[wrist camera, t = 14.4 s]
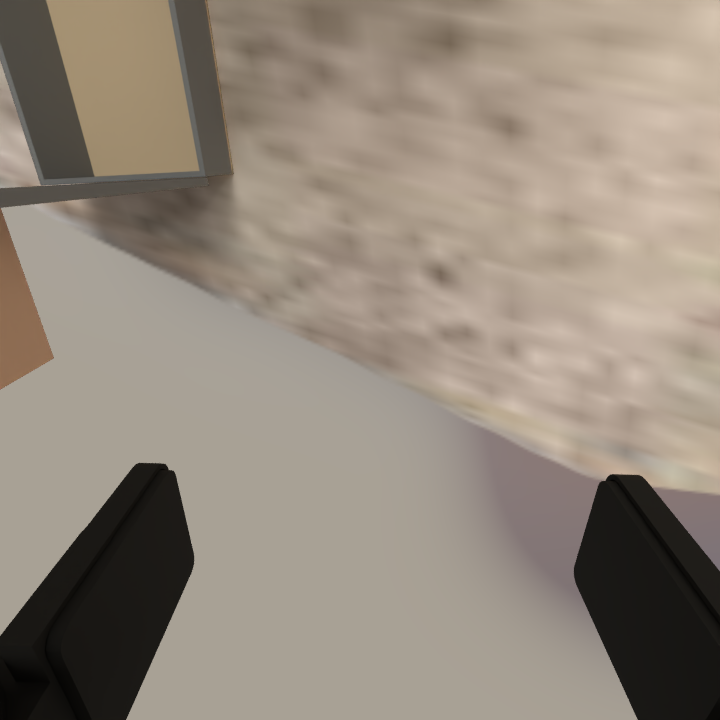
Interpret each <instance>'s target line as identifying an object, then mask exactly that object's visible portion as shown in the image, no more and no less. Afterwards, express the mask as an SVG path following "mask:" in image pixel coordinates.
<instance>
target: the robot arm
mask: <svg viewBox="0 0 720 720" xmlns="http://www.w3.org/2000/svg"><path fill="white" fill-rule="evenodd" d="M193 565H194V553H193V548H192V544H191V540H190V535H189V531H188V527H187V522H186V518H185V513H184V510H183V505H182V500H181V496H180V492H179V488H178V483H177V479H176V475H175V472H174V471H172V470H168V467H167V466H166V464H159V463H138V464H136V465H135V466H134V467H133V468H132V469H131V470H130V472H129V473H128V474H127V476H126V477H125V478H124V480H123V481H122V482H121V483H120V485H119V486H118V487H117V488H116V490H115V491H114V493H113V494H112V495H111V496H110V497H109V499H108V500H107V501H106V503H105V504H104V505H103V506H102V508H101V509H100V510H99V512H98V513H97V514H96V516H95V517H94V518H93V519H92V521H91V522H90V523H89V525H88V526H87V527H86V528H85V529H84V530H83V531H82V532H81V533H80V534H79V536H78V537H77V538H76V540H75V541H74V542H73V544H72V545H71V546H70V547H69V549H68V550H67V551H66V553H65V554H64V555H63V556H62V557H61V559H60V560H59V562H58V563H57V564H56V565H55V566H54V568H53V569H52V570H51V572H50V573H49V574H48V576H47V577H46V578H45V579H44V581H43V582H42V583H41V584H40V586H39V587H38V588H37V590H36V591H35V592H34V593H33V595H32V596H31V597H30V599H29V600H28V601H27V602H26V604H25V605H24V606H23V607H22V609H21V610H20V611H19V613H18V614H17V615H16V617H15V618H14V619H13V620H12V622H11V623H10V624H9V625H8V627H7V628H6V629H5V631H4V632H3V633H2V634H1V636H0V720H126V719H127V716H128V714H129V712H130V710H131V707H132V705H133V703H134V701H135V698H136V696H137V694H138V691H139V689H140V687H141V685H142V683H143V680H144V678H145V676H146V674H147V671H148V669H149V667H150V665H151V662H152V660H153V658H154V656H155V653H156V651H157V649H158V647H159V644H160V642H161V640H162V638H163V635H164V633H165V631H166V629H167V626H168V624H169V622H170V620H171V617H172V615H173V613H174V611H175V608H176V606H177V604H178V602H179V599H180V597H181V595H182V593H183V590H184V588H185V586H186V583H187V581H188V579H189V577H190V575H191V572H192V569H193ZM574 578H575V582H576V585H577V587H578V589H579V592H580V594H581V596H582V598H583V600H584V602H585V605H586V607H587V609H588V611H589V614H590V616H591V618H592V620H593V622H594V624H595V627H596V629H597V631H598V633H599V635H600V638H601V640H602V642H603V644H604V646H605V649H606V651H607V653H608V655H609V657H610V660H611V662H612V664H613V666H614V668H615V671H616V673H617V675H618V677H619V679H620V682H621V684H622V686H623V688H624V690H625V692H626V695H627V697H628V699H629V701H630V704H631V706H632V708H633V710H634V712H635V715H636V717H637V719H638V720H720V571H719V570H718V569H717V567H716V566H715V565H714V564H713V562H712V561H711V560H710V559H709V557H708V556H707V555H706V554H705V553H704V551H703V550H702V549H701V548H700V546H699V545H698V544H697V543H696V541H695V540H694V539H693V538H692V536H691V535H690V534H689V533H688V532H687V530H686V529H685V528H684V527H683V525H682V524H681V523H680V522H679V521H678V519H677V518H676V517H675V516H674V514H673V513H672V512H671V511H670V509H669V508H668V507H667V506H666V504H665V503H664V502H663V501H662V500H661V498H660V497H659V496H658V495H657V493H656V492H655V491H654V490H653V488H652V487H651V486H650V485H649V483H648V482H647V481H646V480H645V479H644V478H643V477H642V476H640V475H618V474H612V475H609V476H608V477H607V479H606V481H601V482H600V483H599V486H598V489H597V492H596V495H595V498H594V502H593V505H592V509H591V512H590V515H589V519H588V522H587V525H586V529H585V532H584V536H583V539H582V542H581V546H580V549H579V553H578V556H577V560H576V563H575V566H574Z"/></svg>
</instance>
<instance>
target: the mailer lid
mask: <svg viewBox="0 0 720 720" xmlns="http://www.w3.org/2000/svg"><path fill="white" fill-rule="evenodd" d="M201 186H209V185H208V179H207V177H202V178H183V179H164V180H146V181H127V182H108V183H90V184H71V185H52V186H34V187H15V188H0V389H2V388H4V387H5V386H7V385H9V384H11V383H12V382H14V381H16V380H17V379H19V378H21V377H23V376H24V375H26V374H28V373H29V372H31V371H33V370H34V369H36V368H38V367H40V366H41V365H43V364H45V363H46V362H48V361H50V360H52V359H53V358H54V357H53V354H52V351H51V348H50V346H49V343H48V340H47V337H46V334H45V332H44V329H43V326H42V323H41V320H40V318H39V315H38V312H37V309H36V306H35V303H34V301H33V298H32V295H31V292H30V289H29V287H28V284H27V281H26V278H25V276H24V272H23V270H22V267H21V264H20V261H19V258H18V256H17V253H16V250H15V247H14V245H13V242H12V239H11V236H10V233H9V231H8V228H7V225H6V222H5V219H4V216H3V213H2V211H1V208H2V207H11V206H21V205H30V204H40V203H49V202H59V201H68V200H78V199H87V198H97V197H106V196H116V195H125V194H135V193H144V192H154V191H163V190H173V189H182V188H192V187H201Z"/></svg>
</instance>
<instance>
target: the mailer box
mask: <svg viewBox="0 0 720 720" xmlns="http://www.w3.org/2000/svg"><path fill="white" fill-rule="evenodd" d="M0 61H1V64H2V67H3V70H4V73H5V76H6V79H7V82H8V85H9V88H10V91H11V94H12V98H13V101H14V104H15V107H16V110H17V113H18V116H19V119H20V122H21V125H22V128H23V131H24V135H25V138H26V141H27V144H28V147H29V150H30V153H31V156H32V159H33V162H34V165H35V168H36V172H37V175H38V178H39V181H40V184H41V185H58V184H76V183H95V182H114V181H132V180H151V179H170V178H188V177H206V176H217V175H227V174H233V167H232V161H231V154H230V148H229V141H228V135H227V129H226V122H225V116H224V109H223V103H222V96H221V90H220V83H219V77H218V71H217V64H216V58H215V51H214V45H213V38H212V32H211V25H210V19H209V12H208V6H207V0H0Z"/></svg>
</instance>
